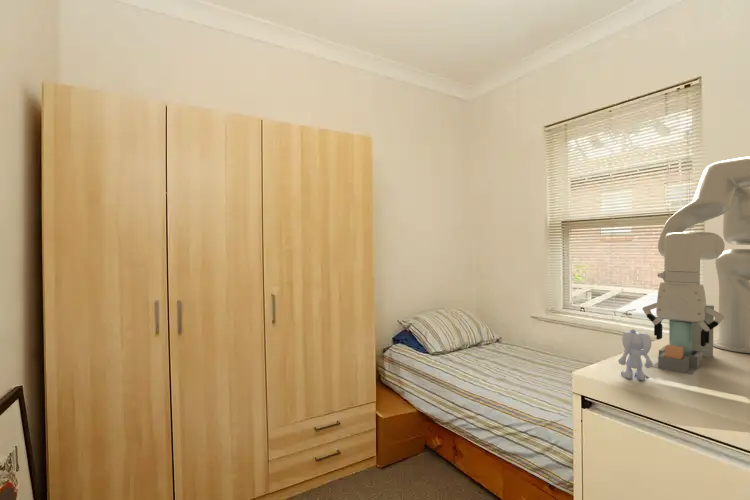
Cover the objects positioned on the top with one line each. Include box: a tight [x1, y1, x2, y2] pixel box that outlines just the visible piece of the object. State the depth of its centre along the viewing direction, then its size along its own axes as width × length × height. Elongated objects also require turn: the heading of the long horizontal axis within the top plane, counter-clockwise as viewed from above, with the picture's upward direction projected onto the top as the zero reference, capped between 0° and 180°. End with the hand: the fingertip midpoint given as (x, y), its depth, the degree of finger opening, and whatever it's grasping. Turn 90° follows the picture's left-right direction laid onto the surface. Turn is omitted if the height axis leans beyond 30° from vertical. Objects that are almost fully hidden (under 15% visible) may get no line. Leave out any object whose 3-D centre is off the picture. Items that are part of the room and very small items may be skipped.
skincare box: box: [692, 303, 715, 358], centre depth 111 cm, size 8×7×16 cm
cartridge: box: [668, 320, 692, 355], centre depth 102 cm, size 5×5×11 cm
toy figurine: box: [617, 328, 654, 382], centre depth 92 cm, size 7×6×12 cm
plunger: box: [664, 344, 683, 360], centre depth 96 cm, size 3×3×5 cm
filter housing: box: [651, 345, 703, 376], centre depth 100 cm, size 15×8×4 cm, turn 132°
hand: (680, 341), depth 102 cm, fingers open, 9 cm apart
